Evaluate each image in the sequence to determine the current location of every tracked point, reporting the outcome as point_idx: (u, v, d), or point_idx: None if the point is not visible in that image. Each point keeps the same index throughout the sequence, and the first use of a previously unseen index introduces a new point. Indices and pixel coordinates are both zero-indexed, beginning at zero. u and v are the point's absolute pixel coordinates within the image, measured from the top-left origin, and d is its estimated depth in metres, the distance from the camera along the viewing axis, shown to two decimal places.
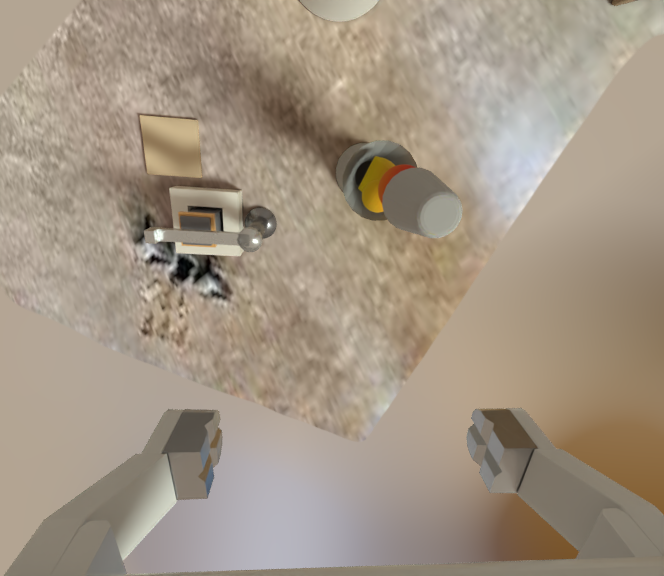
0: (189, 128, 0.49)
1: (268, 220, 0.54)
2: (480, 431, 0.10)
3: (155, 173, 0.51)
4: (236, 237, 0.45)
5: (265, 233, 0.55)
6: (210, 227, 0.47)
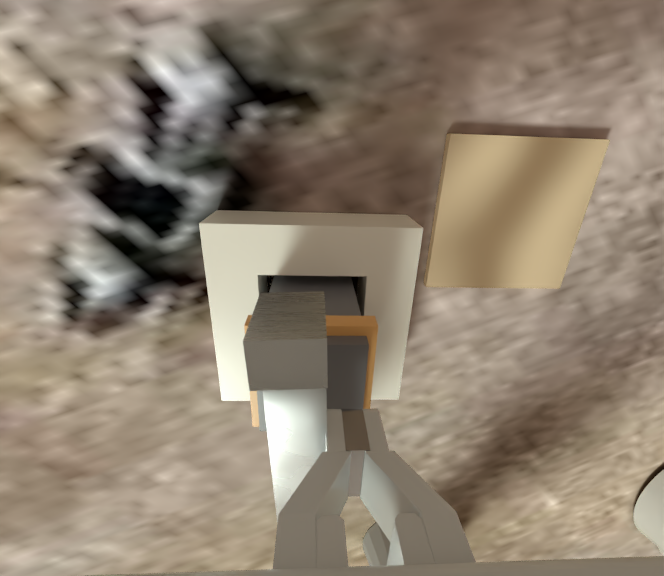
0: (544, 270, 0.19)
1: None
2: None
3: (449, 160, 0.16)
4: None
5: None
6: None
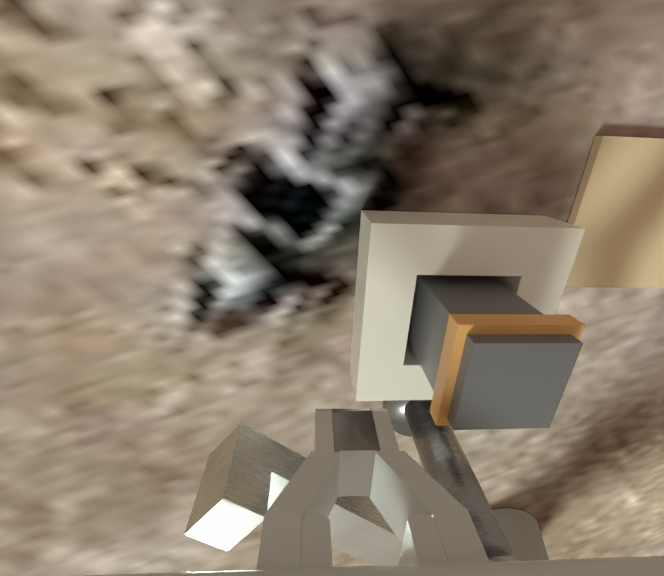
0: None
1: None
2: None
3: (597, 162, 0.17)
4: None
5: (397, 418, 0.23)
6: None
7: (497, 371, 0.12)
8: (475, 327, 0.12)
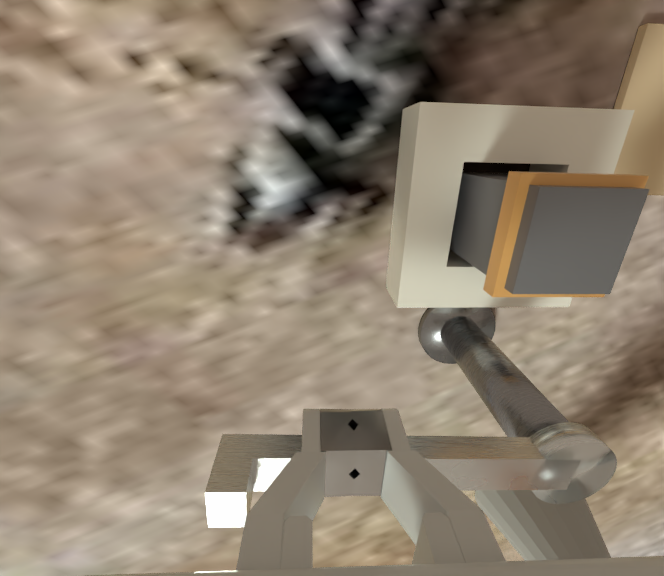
0: None
1: None
2: None
3: (642, 53, 0.17)
4: (535, 468, 0.12)
5: (432, 342, 0.22)
6: (569, 290, 0.13)
7: (561, 222, 0.12)
8: (538, 177, 0.12)
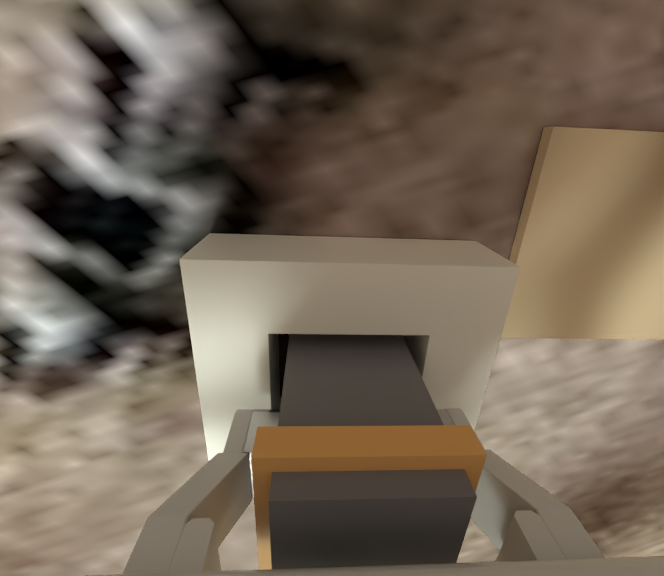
0: (657, 316, 0.14)
1: None
2: None
3: (547, 166, 0.11)
4: None
5: None
6: None
7: (327, 539, 0.07)
8: (287, 460, 0.07)
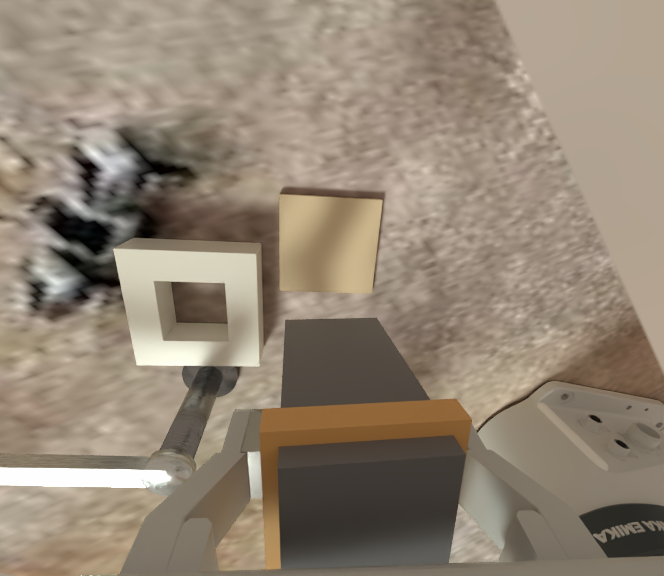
0: (358, 281, 0.29)
1: None
2: None
3: (281, 210, 0.26)
4: (139, 475, 0.21)
5: None
6: None
7: (332, 509, 0.07)
8: (292, 434, 0.07)
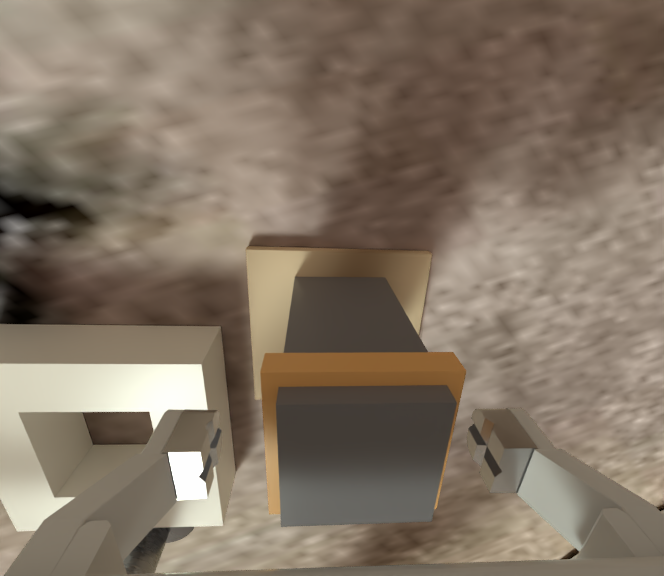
0: None
1: None
2: (480, 431, 0.10)
3: (251, 276, 0.14)
4: None
5: None
6: None
7: (327, 445, 0.08)
8: (291, 376, 0.08)
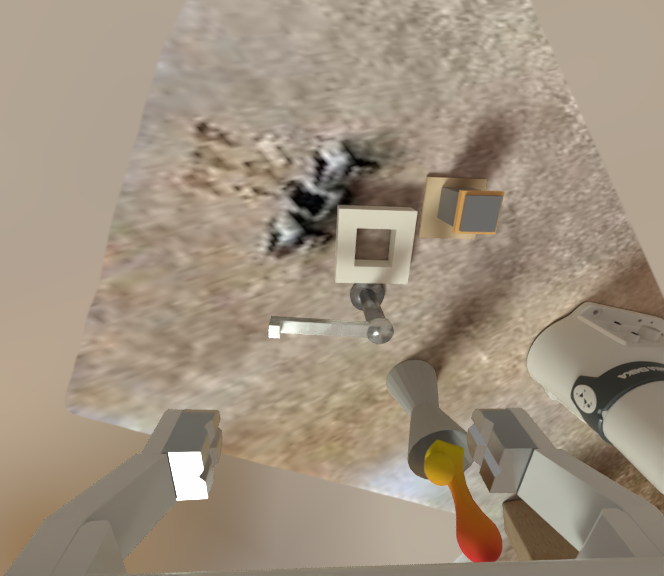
0: None
1: None
2: (480, 431, 0.10)
3: (427, 186, 0.44)
4: (367, 329, 0.39)
5: (356, 300, 0.50)
6: (481, 231, 0.38)
7: (475, 206, 0.37)
8: (468, 192, 0.37)
